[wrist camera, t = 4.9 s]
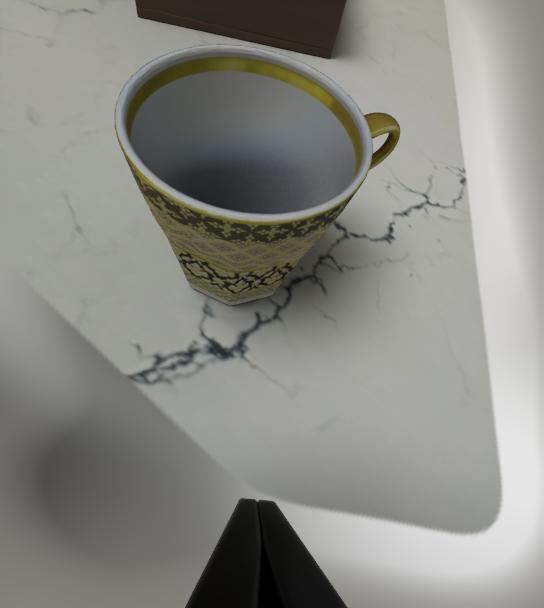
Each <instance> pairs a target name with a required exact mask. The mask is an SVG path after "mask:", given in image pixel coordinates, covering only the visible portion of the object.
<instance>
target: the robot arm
mask: <svg viewBox="0 0 544 608" xmlns="http://www.w3.org/2000/svg"><path fill="white" fill-rule="evenodd" d="M185 608H347V606H346V605H345V604H344V602H343V601H342V599H341V598H340V596H339V595H338V593H337V592H336V591H335V589H334V588H333V586H332V585H331V583H330V582H329V580H328V579H327V577H326V576H325V575H324V573H323V571H322V570H321V569H320V568H319V566H318V564H317V563H316V561H315V560H314V558H313V557H312V556H311V554H310V553H309V551H308V550H307V548H306V547H305V545H304V544H303V543H302V541H301V540H300V538H299V537H298V535H297V534H296V532H295V531H294V529H293V528H292V526H291V525H290V523H289V522H288V521H287V519H286V518H285V516H284V515H283V513H282V512H281V510H280V509H279V507H278V506H277V505H276V503H275V502H274V501H267V500H259V501H258V502H257V501H256V500H255V499H245V498H241V499H240V500H239V502H238V504H237V506H236V508H235V510H234V512H233V514H232V516H231V517H230V520H229V522H228V523H227V525H226V527H225V529H224V531H223V533H222V535H221V537H220V539H219V541H218V543H217V545H216V547H215V549H214V551H213V553H212V555H211V557H210V559H209V561H208V563H207V565H206V567H205V569H204V571H203V573H202V575H201V577H200V579H199V581H198V583H197V585H196V587H195V589H194V591H193V593H192V595H191V597H190V599H189V601H188V603H187V605H186V607H185Z"/></svg>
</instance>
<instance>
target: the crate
mask: <svg viewBox="0 0 544 608" xmlns="http://www.w3.org/2000/svg"><path fill="white" fill-rule="evenodd" d="M135 2H136V6H137V7H136V8H137V14H138V17H143V18H147V19H152V20H156V21H161V22H165V23H170V24H175V25H179V26H184V27H188V28H193V29H197V30H202V31H206V32H211V33H215V34H220V35H224V36H229V37H234V38H238V39H243V40H247V41H252V42H256V43H261V44H265V45H270V46H274V47H279V48H283V49H288V50H293V51H297V52H302V53H306V54H311V55H315V56H320V57H324V58H330V56H331V53H332V49H333V46H334V42H335V39H336V35H337V32H338V28H339V25H340V21H341V18H342V14H343V11H344V7H345V4H346V0H135Z"/></svg>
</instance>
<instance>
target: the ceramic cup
mask: <svg viewBox="0 0 544 608" xmlns="http://www.w3.org/2000/svg"><path fill="white" fill-rule="evenodd" d="M115 129H116V134H117V138H118V141H119V144H120V146H121V149H122V151H123V153H124V155H125V158H126V160H127V162H128V164H129V167H130V169H131V171H132V174H133V176H134V178H135V180H136V182H137V185H138V187H139V189H140V191H141V193H142V195H143V196H144V198H145V200H146V202H147V204H148V206H149V208H150V210H151V212H152V214H153V216H154V217H155V219H156V221H157V222H158V224H159V225H160V227H161V229H162V230H163V232H164V233H165V235H166V236H167V238H168V240H169V242H170V244H171V246H172V249H173V251H174V253H175V255H176V257H177V259H178V261H179V263H180V265H181V267H182V269H183V271H184V274H185V276H186V279H187V280H188V282H189V284H190V286H191V287H192V288H194V289H196V290H198V291H200V292H202V293H204V294H206V295H208V296H210V297H212V298H214V299H217V300H219V301H221V302H223V303H225V304H227V305H230V306H232V305H237V304H241V303H244V302H248V301H252V300H256V299H260V298H264V297H267V296H271V295H272V294H273V293H274V292H275V291H276V290H277V289H278V287H279V286H280V284H281V283H282V282H283V280H284V279H285V278H286V277H287V275H288V274H289V273H290V272H291V270H292V269H293V268H294V267H295V266H296V264H297V263H298V262H299V260H300V259H301V257H302V256H303V255H304V254H305V253H306V252H307V251H308V250H309V249H310V248H311V247H312V246H313V245H314V244H315V243H316V242H317V241H318V240H319V239H320V238H321V237H322V235H323V234H324V233H325V232H326V231H327V229H328V228H329V227H330V226H331V224H332V223H333V222H334V221H335V220H336V218H337V217H338V216H339V215H340V213H341V212H342V211H343V210H344V208H345V207H346V205H347V204H348V203H349V201H350V200H351V198H352V197H353V196H354V194H355V193H356V191H357V190H358V189H359V187H360V186H361V185H362V183H363V181H364V180H365V178H366V176H367V173H368V171H369V170H370V169H372V168H373V167H375V166H376V165H378V164H379V163H380V162H382V161H383V160H384V159H385V158H386V157H387V156H388V155H389V154H390V153H391V152H392V151H393V149H394V148H395V146H396V144H397V143H398V140H399V137H400V127H399V124H398V123H397V121H396V120H395V119H394V118H393V117H392V116H390V115H388V114H385V113H370V114H367V115H363V114H362V112H361V110H360V109H359V107H358V106H357V105H356V103H355V102H354V101H353V100H352V98H351V97H350V96H349V95H348V94H347V93H346V92H345V91H344V90H343V89H342V88H341V87H340V86H338V85H337V84H336V83H335V82H334V81H332V80H331V79H330V78H329V77H327V76H325V75H324V74H322V73H321V72H319V71H318V70H316V69H314V68H312V67H310V66H308V65H307V64H305V63H303V62H300V61H298V60H296V59H293V58H291V57H288V56H285V55H282V54H279V53H276V52H273V51H269V50H264V49H259V48H255V47H248V46H241V45H224V44H216V45H202V46H195V47H189V48H185V49H180V50H176V51H173V52H170V53H168V54H165V55H163V56H160V57H158V58H156V59H154V60H152V61H151V62H149V63H147V64H146V65H144V66H143V67H142V68H140V69H139V70H138V71H137V72H136V73H135V74H134V75H132V77H131V78H130V79H129V80H128V81H127V83H126V84H125V85H124V87H123V89H122V91H121V92H120V95H119V98H118V100H117V103H116V108H115ZM385 133H389V136H388V138H387V140H386V141H385V143H384V144H383V145H382V146H381V147H380V148H379V150H377V151H376V152H375V153H374V154H373V144H372V139H373V138H375V137H377V136H379V135H382V134H385Z"/></svg>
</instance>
